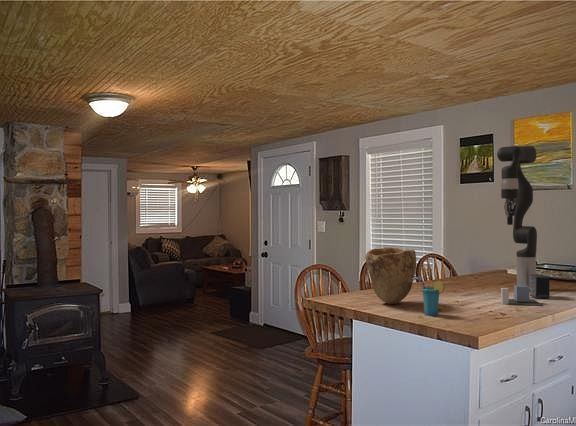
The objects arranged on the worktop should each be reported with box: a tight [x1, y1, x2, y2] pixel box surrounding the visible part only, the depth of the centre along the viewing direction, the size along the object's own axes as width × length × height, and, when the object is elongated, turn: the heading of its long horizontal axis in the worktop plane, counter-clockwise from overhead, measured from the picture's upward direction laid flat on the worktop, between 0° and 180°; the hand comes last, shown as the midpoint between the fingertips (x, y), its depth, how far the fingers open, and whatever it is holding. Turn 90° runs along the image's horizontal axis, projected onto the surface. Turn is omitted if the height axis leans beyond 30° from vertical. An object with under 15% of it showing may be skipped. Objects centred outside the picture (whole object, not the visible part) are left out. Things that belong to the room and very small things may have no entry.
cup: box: [412, 276, 445, 317], centre depth 206 cm, size 14×8×15 cm, turn 53°
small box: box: [529, 274, 550, 300], centre depth 242 cm, size 11×6×10 cm, turn 168°
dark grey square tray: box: [508, 298, 544, 307], centre depth 229 cm, size 14×14×7 cm
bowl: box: [364, 246, 417, 305], centre depth 230 cm, size 22×22×25 cm
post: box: [500, 287, 510, 306], centre depth 227 cm, size 3×3×7 cm
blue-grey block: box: [513, 284, 530, 302], centre depth 229 cm, size 5×5×7 cm
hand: (510, 224), depth 241 cm, fingers closed
